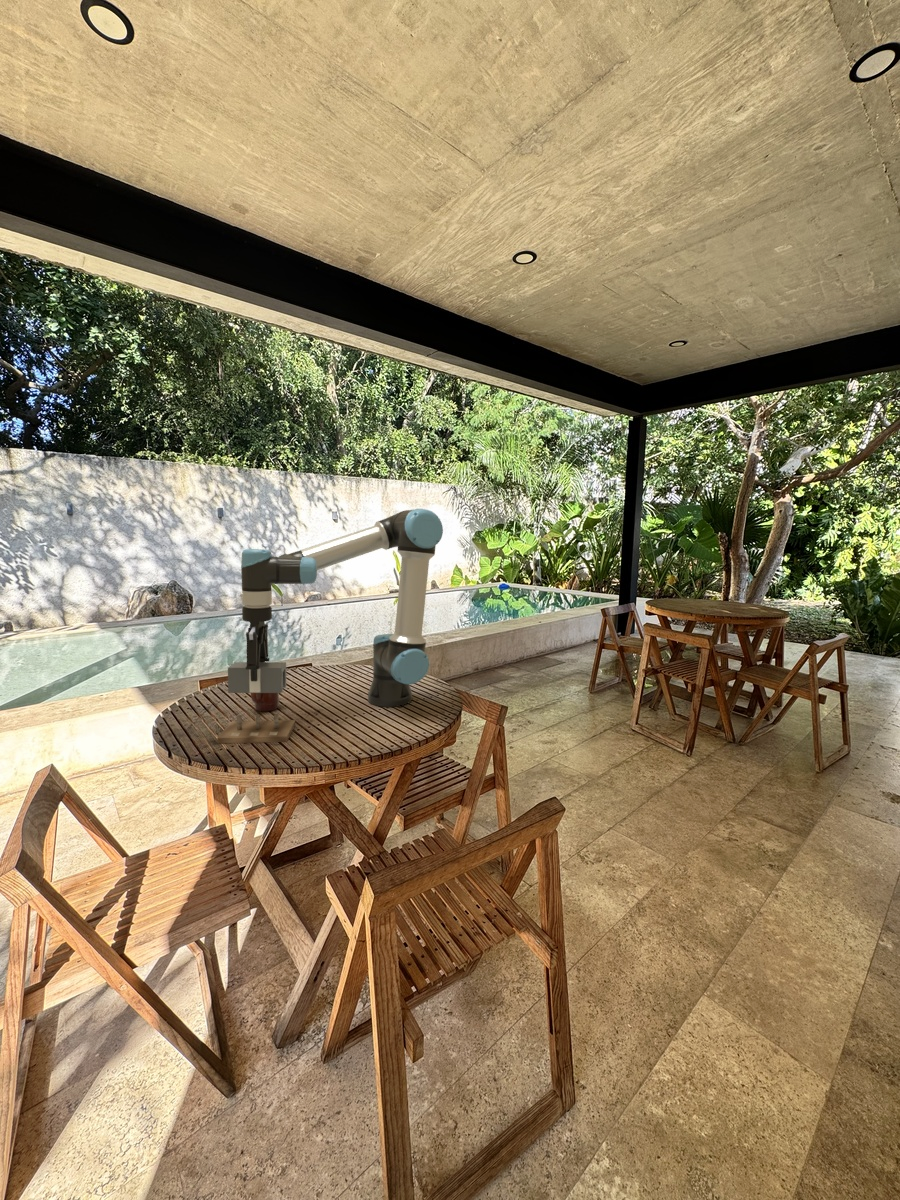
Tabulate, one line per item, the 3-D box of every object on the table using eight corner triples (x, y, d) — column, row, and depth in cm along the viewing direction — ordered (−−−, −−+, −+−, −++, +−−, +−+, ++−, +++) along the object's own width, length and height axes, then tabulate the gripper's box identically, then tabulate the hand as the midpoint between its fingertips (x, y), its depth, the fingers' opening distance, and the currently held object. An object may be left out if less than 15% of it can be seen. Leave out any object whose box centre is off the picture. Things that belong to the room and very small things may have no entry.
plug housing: (286, 686, 140) (286, 662, 139) (281, 692, 134) (281, 667, 133) (235, 686, 138) (234, 662, 137) (228, 692, 132) (227, 667, 132)
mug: (262, 703, 163) (261, 673, 162) (286, 705, 161) (285, 675, 160) (240, 715, 151) (239, 683, 150) (265, 718, 150) (265, 685, 148)
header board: (295, 724, 145) (294, 707, 144) (286, 741, 133) (286, 722, 133) (231, 726, 143) (231, 708, 142) (217, 743, 131) (216, 723, 130)
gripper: (252, 601, 142) (253, 678, 145) (231, 610, 124) (233, 699, 126) (278, 601, 143) (279, 678, 146) (262, 611, 125) (263, 699, 127)
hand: (258, 688), depth 136 cm, fingers closed on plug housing, 6 cm apart
